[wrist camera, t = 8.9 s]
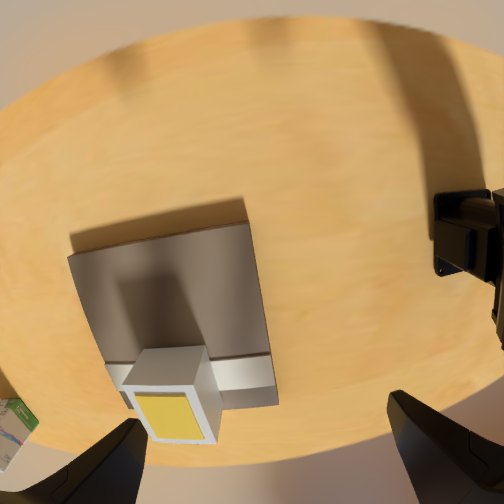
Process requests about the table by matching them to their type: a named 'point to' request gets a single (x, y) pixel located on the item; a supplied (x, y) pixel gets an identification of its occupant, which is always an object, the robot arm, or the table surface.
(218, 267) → the subfloor board
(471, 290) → the table surface
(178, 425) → the block
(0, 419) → the ink box
